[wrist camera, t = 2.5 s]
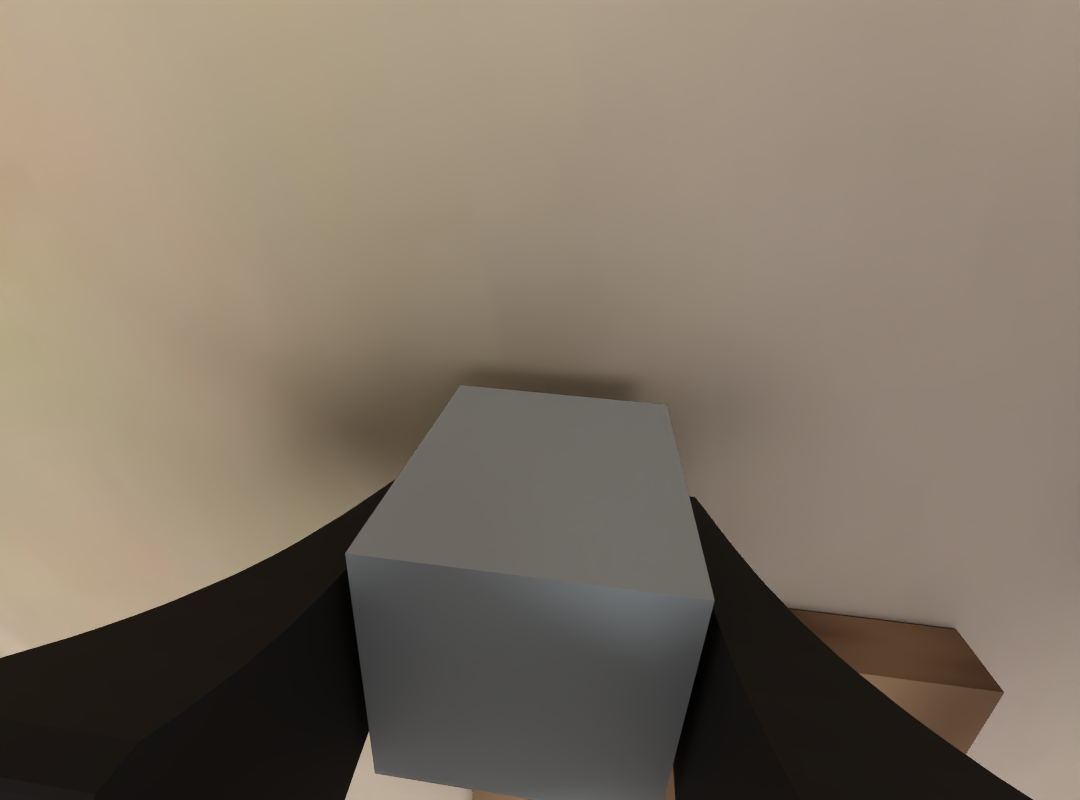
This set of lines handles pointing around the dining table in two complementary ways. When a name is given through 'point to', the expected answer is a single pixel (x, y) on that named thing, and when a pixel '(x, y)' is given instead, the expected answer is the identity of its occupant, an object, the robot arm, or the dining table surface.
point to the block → (533, 600)
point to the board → (902, 675)
